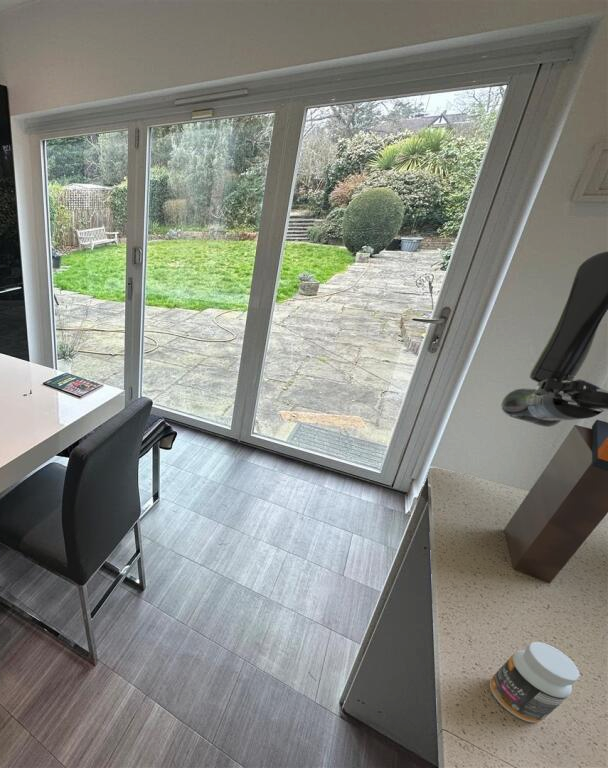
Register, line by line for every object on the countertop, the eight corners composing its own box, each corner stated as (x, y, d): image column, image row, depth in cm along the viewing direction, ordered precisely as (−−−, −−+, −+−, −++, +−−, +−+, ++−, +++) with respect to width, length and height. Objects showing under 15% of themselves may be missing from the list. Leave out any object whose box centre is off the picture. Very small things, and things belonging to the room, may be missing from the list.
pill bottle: (478, 674, 60) (511, 633, 55) (521, 681, 59) (559, 640, 54) (507, 720, 55) (547, 680, 50) (554, 728, 54) (599, 688, 49)
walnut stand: (536, 540, 82) (615, 434, 70) (550, 583, 74) (643, 470, 62) (503, 529, 85) (574, 424, 73) (513, 569, 76) (595, 457, 64)
